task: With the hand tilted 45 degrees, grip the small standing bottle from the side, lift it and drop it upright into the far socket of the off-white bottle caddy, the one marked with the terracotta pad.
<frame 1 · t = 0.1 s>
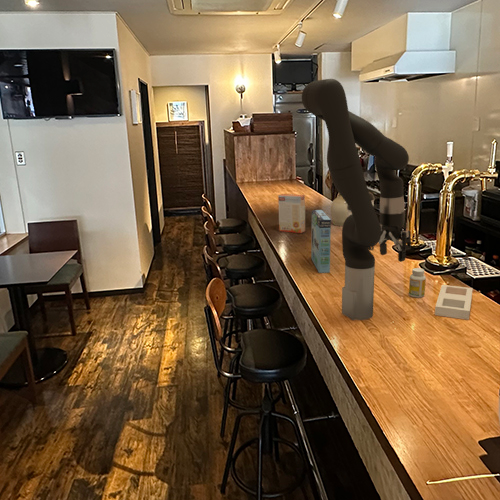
hand: (392, 257, 153), 17 cm above the bar counter, tool pointing down, fingers open, 8 cm apart
supplement bottle: (416, 295, 166), on the bar counter
coffee press: (361, 247, 226), on the bar counter
cracker box: (292, 231, 263), on the bar counter
gum box: (320, 266, 202), on the bar counter
jug: (343, 224, 274), on the bar counter
bottle caddy: (454, 305, 156), on the bar counter
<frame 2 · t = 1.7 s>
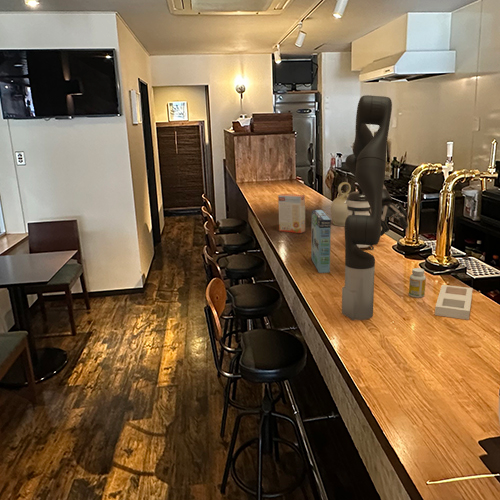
hand: (397, 229, 170), 22 cm above the bar counter, tool tilted 45°, fingers open, 8 cm apart
nothing on the bar counter moved.
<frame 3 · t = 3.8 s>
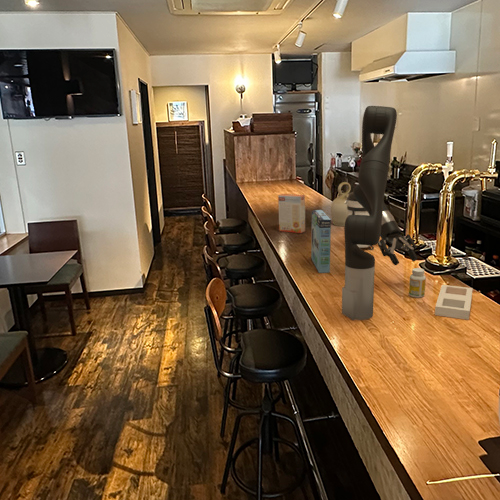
hand: (406, 262, 168), 11 cm above the bar counter, tool tilted 45°, fingers open, 8 cm apart
nothing on the bar counter moved.
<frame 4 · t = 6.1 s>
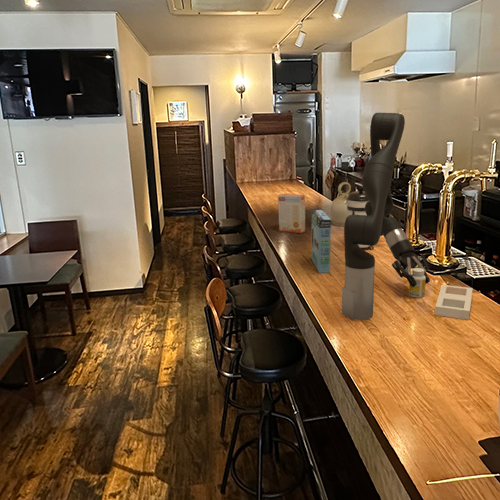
hand: (421, 284, 163), 5 cm above the bar counter, tool tilted 45°, fingers closed on supplement bottle, 5 cm apart
supplement bottle: (416, 295, 166), on the bar counter, touching gripper
everything else where it was.
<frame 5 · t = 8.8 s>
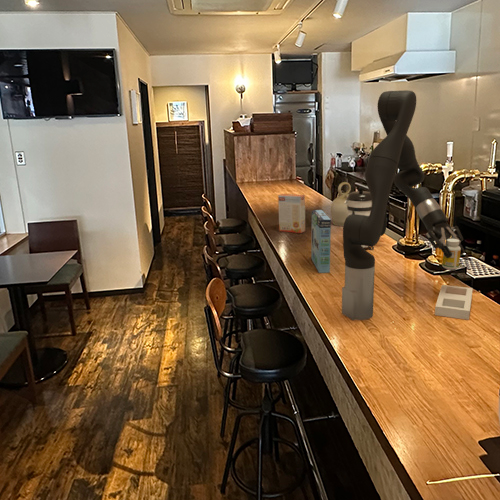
hand: (456, 255, 156), 16 cm above the bar counter, tool tilted 45°, fingers closed on supplement bottle, 5 cm apart
supplement bottle: (450, 267, 159), point 11 cm above the bar counter, touching gripper
everything else where it was.
when the fingers open (6 cm above the bar counter, at t = 11.9 s): supplement bottle stays where it is, resting on bottle caddy.
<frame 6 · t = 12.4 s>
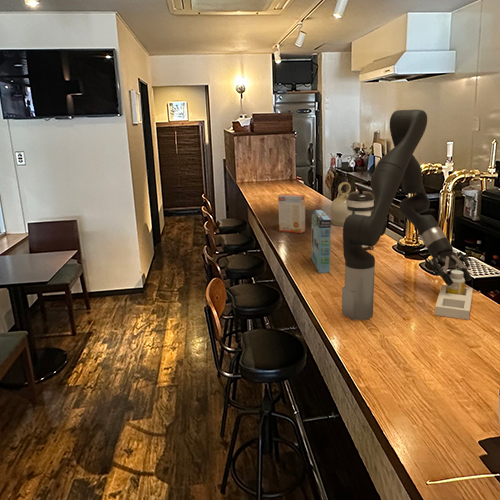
hand: (460, 282, 158), 7 cm above the bar counter, tool tilted 45°, fingers open, 8 cm apart
supplement bottle: (454, 298, 161), resting on bottle caddy
everything else where it was.
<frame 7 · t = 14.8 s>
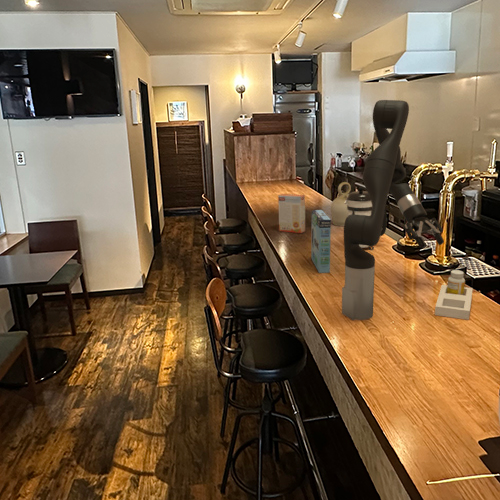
hand: (433, 245, 167), 17 cm above the bar counter, tool tilted 45°, fingers open, 8 cm apart
nothing on the bar counter moved.
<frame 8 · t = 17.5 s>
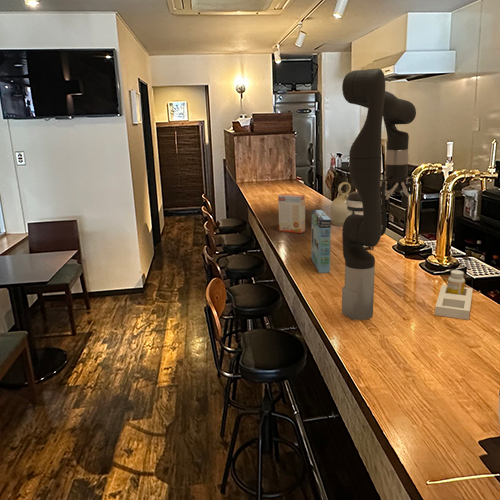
hand: (394, 208, 166), 30 cm above the bar counter, tool pointing down, fingers open, 8 cm apart
nothing on the bar counter moved.
at the end: supplement bottle 0.3 cm from the target spot, resting on bottle caddy; supplement bottle tilted 0° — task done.
